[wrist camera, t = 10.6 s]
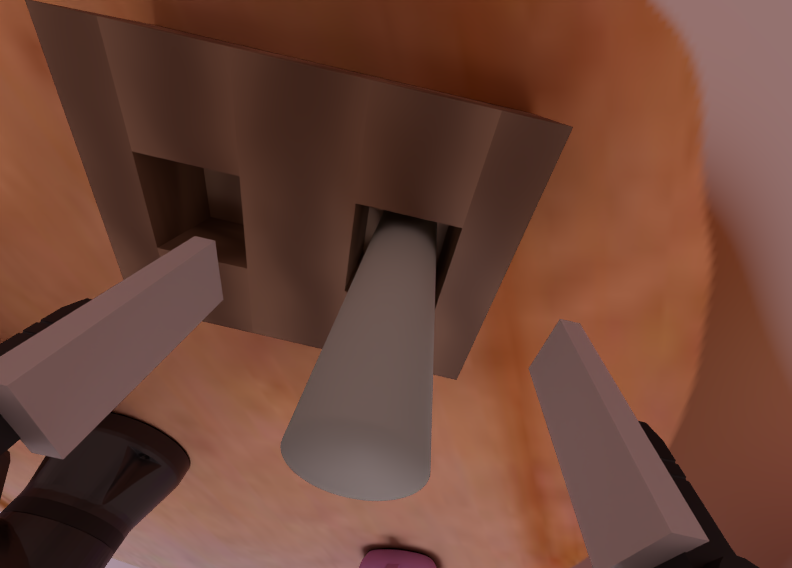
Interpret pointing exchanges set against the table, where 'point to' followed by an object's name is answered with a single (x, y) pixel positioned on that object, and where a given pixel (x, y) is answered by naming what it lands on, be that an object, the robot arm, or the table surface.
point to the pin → (374, 375)
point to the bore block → (291, 171)
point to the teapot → (396, 559)
